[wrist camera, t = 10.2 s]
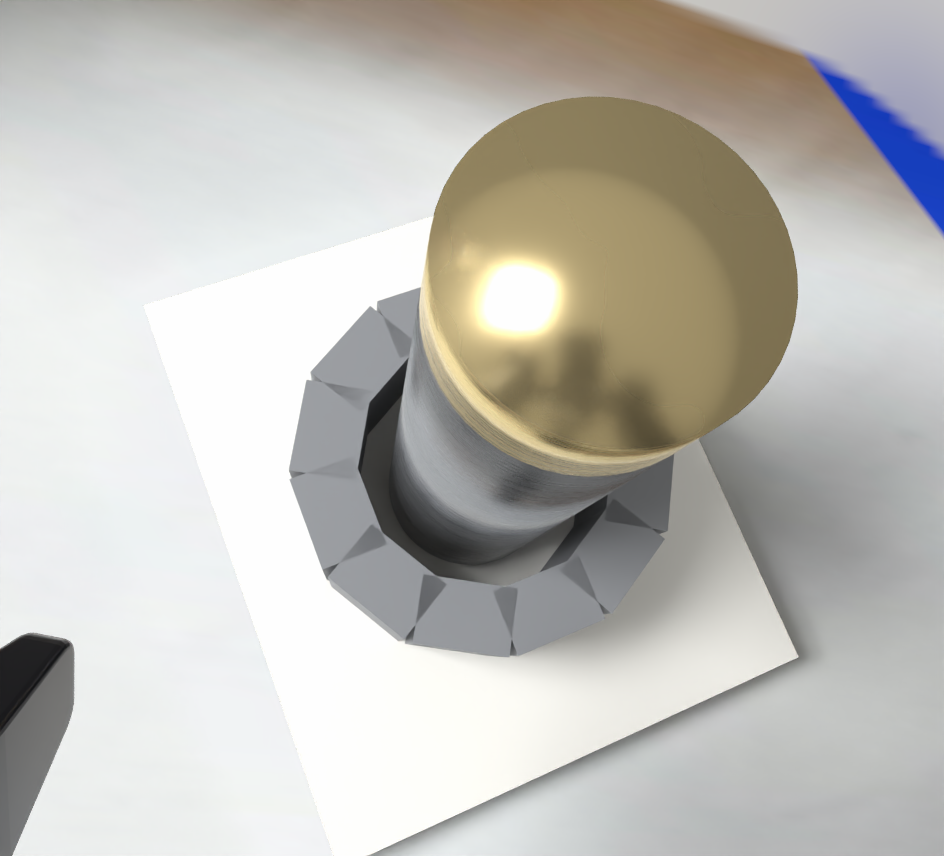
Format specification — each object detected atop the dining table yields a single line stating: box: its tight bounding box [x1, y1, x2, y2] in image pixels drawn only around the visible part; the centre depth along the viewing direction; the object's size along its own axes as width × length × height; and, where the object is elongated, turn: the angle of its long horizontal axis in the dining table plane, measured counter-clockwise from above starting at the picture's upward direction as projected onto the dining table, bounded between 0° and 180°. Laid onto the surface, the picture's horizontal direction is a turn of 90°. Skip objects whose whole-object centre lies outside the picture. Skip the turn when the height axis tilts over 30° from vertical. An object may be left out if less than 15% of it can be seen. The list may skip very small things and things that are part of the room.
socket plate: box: [144, 216, 798, 856], centre depth 21 cm, size 14×12×4 cm
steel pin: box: [389, 97, 798, 565], centre depth 16 cm, size 4×4×13 cm
